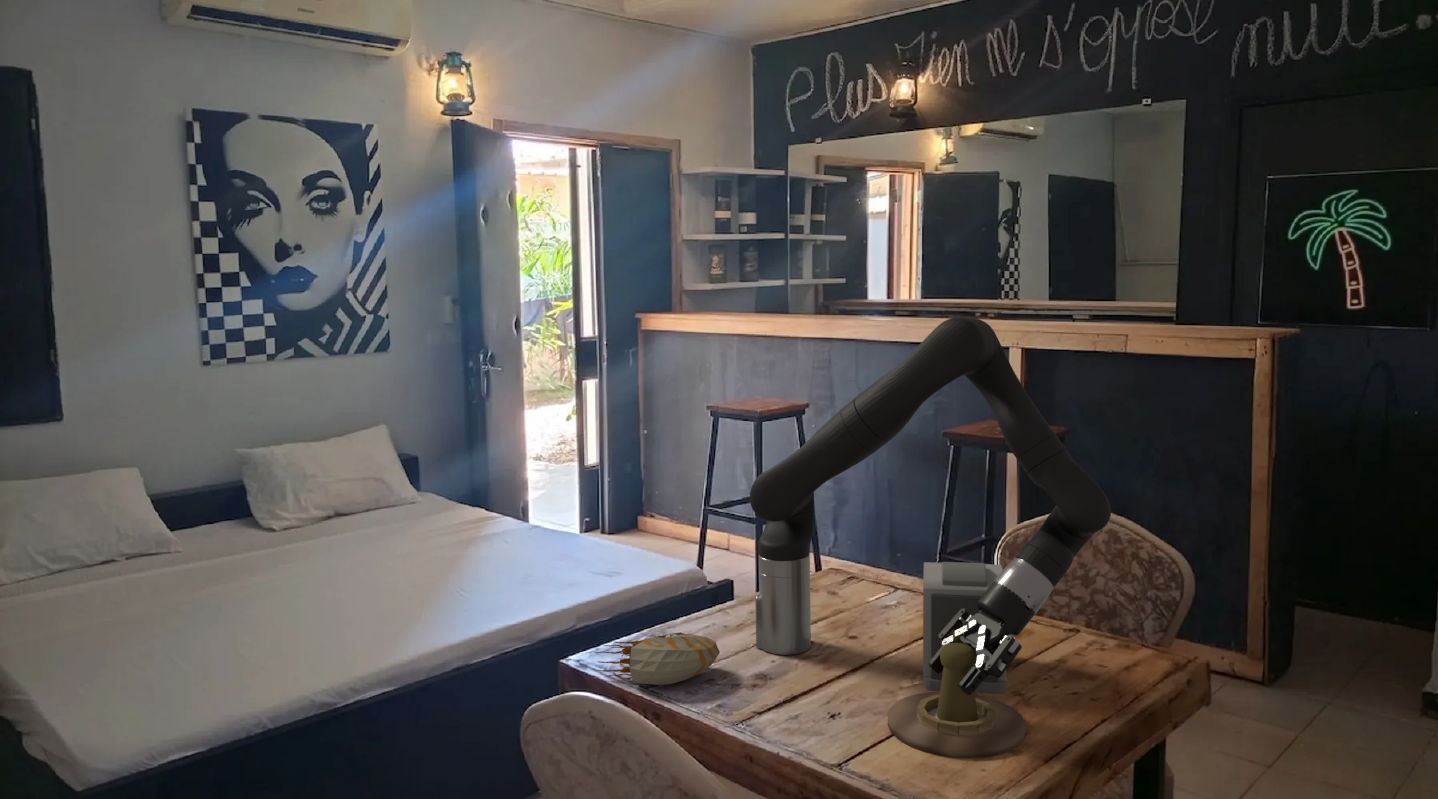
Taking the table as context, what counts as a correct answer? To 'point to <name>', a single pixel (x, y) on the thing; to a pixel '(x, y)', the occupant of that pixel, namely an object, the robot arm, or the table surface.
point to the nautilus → (665, 658)
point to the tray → (956, 727)
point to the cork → (956, 684)
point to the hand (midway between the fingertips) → (947, 680)
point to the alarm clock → (953, 611)
